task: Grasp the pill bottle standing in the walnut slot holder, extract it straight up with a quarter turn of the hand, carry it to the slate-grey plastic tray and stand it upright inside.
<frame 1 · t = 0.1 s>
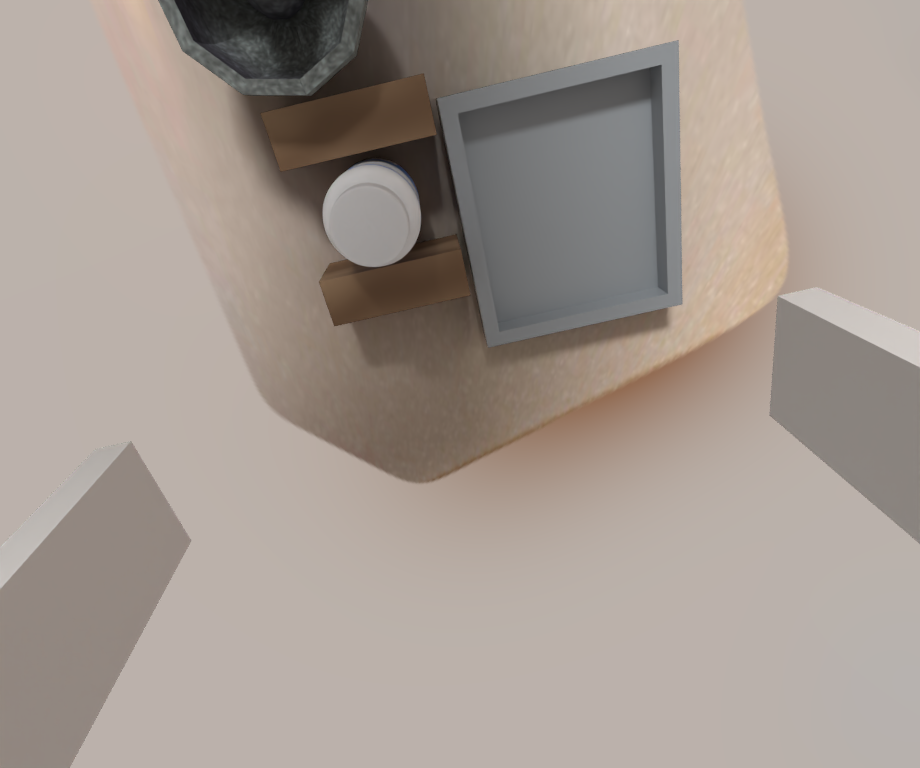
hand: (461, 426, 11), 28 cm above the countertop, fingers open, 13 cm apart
tray: (562, 205, 36), on the countertop
slot holder: (379, 200, 35), on the countertop
pill bottle: (379, 200, 35), on the countertop
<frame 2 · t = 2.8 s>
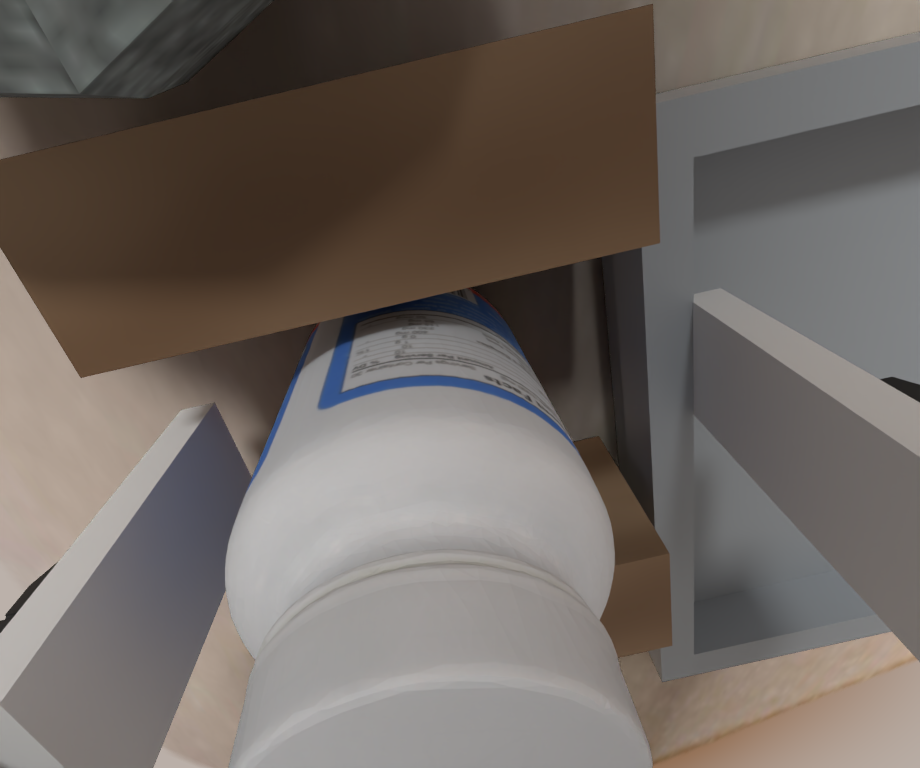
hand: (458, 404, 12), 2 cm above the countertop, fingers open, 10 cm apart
tray: (861, 368, 15), on the countertop
slot holder: (415, 371, 13), on the countertop
pill bottle: (415, 367, 14), on the countertop
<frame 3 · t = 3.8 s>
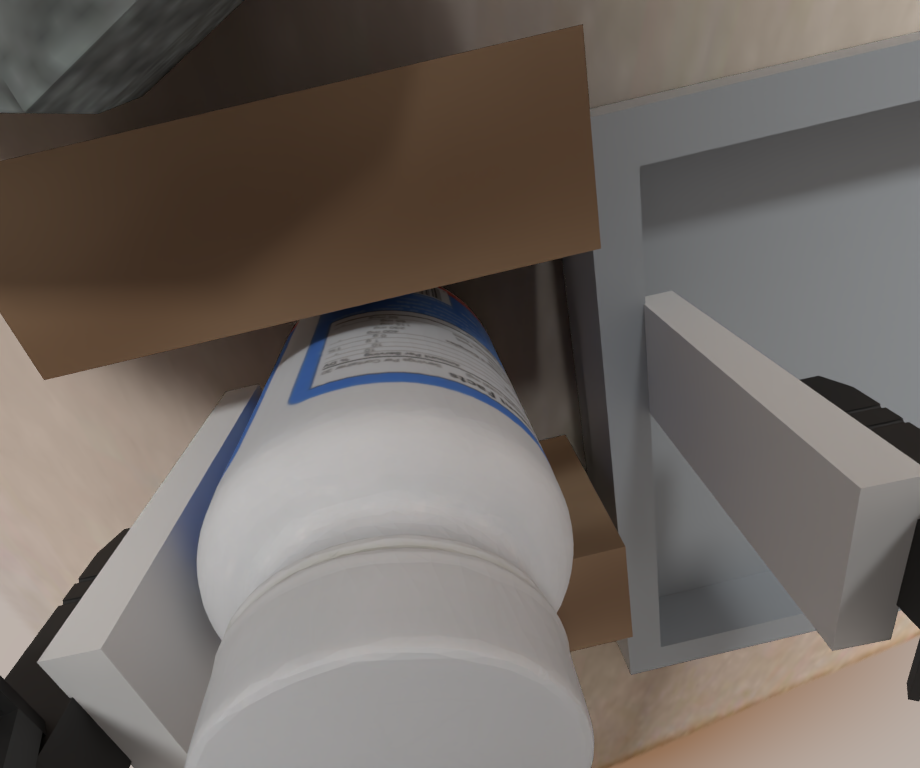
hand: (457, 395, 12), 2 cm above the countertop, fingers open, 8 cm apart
tray: (817, 367, 15), on the countertop
slot holder: (384, 372, 14), on the countertop
pill bottle: (393, 367, 14), on the countertop, touching gripper
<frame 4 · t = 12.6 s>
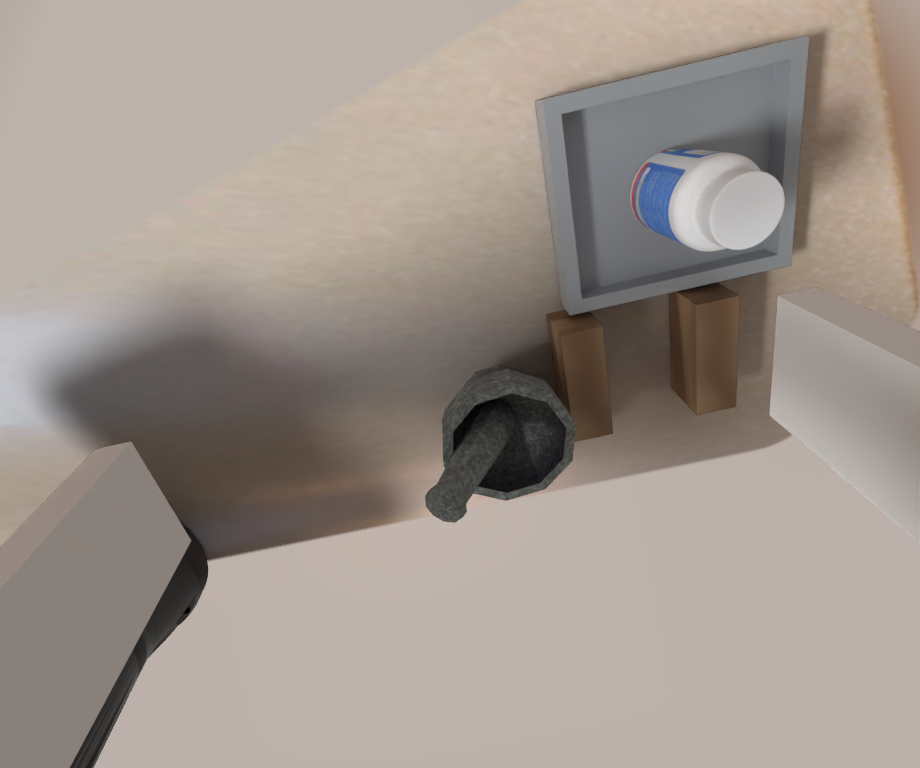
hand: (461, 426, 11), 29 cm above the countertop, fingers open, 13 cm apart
tray: (661, 185, 37), on the countertop
mortar and pestle: (488, 400, 44), on the countertop
slot holder: (630, 348, 42), on the countertop
pill bottle: (666, 189, 36), point 1 cm above the countertop, touching tray
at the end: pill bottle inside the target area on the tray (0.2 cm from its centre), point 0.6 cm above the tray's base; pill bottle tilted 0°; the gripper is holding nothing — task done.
